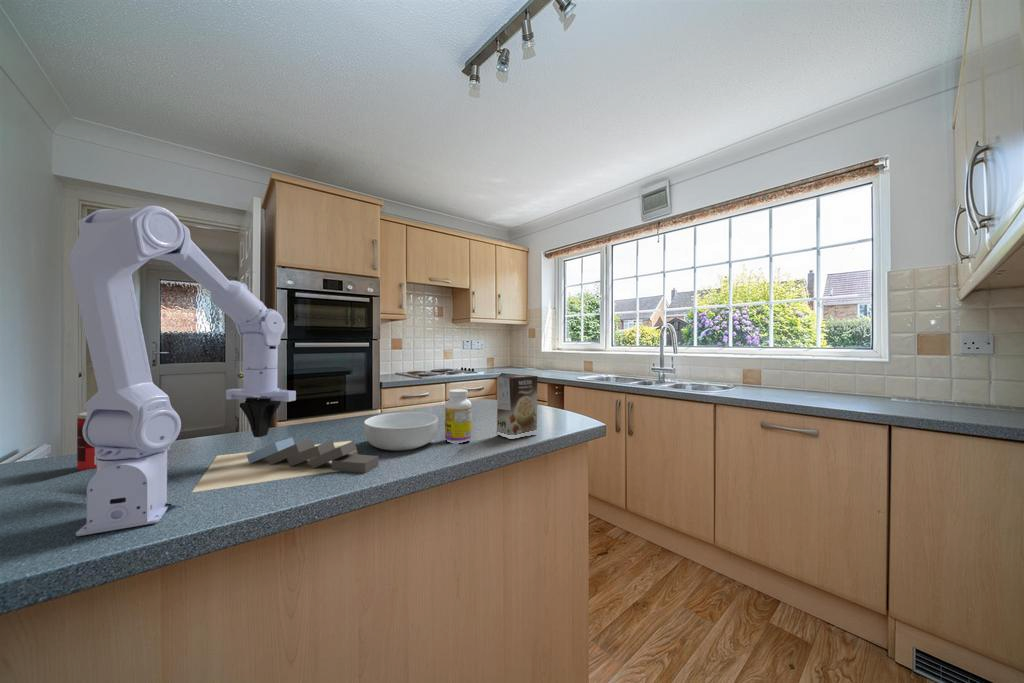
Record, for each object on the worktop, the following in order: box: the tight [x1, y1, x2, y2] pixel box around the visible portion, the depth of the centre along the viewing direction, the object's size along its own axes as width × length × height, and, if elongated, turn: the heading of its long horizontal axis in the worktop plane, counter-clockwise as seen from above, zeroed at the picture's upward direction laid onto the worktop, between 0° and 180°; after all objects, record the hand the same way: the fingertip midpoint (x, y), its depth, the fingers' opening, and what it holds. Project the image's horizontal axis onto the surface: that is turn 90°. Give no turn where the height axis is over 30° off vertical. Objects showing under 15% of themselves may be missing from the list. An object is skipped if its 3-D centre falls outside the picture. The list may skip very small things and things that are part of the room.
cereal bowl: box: [363, 411, 439, 452], centre depth 90 cm, size 17×17×7 cm
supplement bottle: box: [444, 388, 472, 441], centre depth 97 cm, size 7×7×13 cm
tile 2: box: [267, 438, 316, 465], centre depth 76 cm, size 2×4×7 cm
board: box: [191, 440, 360, 494], centre depth 77 cm, size 22×26×1 cm
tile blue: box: [247, 436, 296, 464], centre depth 77 cm, size 2×4×7 cm
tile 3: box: [287, 439, 335, 467], centre depth 75 cm, size 2×4×7 cm
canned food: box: [76, 411, 97, 473], centre depth 75 cm, size 8×8×11 cm
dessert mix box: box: [496, 374, 538, 435], centre depth 103 cm, size 9×6×16 cm
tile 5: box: [332, 454, 379, 474], centre depth 73 cm, size 2×4×7 cm
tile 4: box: [309, 440, 358, 469], centre depth 74 cm, size 2×4×7 cm
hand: (260, 436), depth 77 cm, fingers closed
